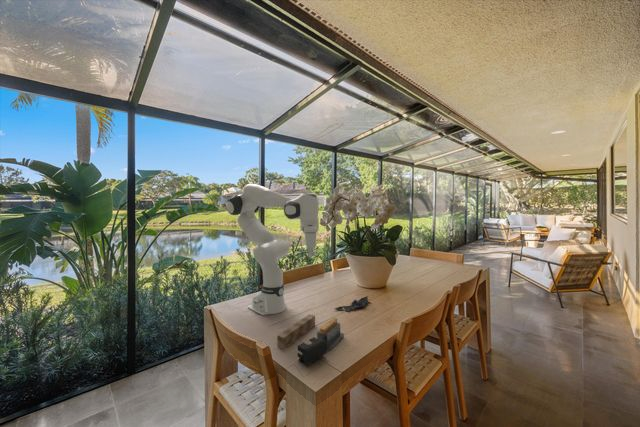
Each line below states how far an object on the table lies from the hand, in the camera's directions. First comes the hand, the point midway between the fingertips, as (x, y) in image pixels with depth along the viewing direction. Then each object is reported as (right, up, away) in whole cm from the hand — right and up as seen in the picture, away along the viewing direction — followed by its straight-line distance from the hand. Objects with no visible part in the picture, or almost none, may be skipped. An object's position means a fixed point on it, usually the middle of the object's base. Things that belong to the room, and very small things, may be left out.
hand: (309, 255), depth 125 cm
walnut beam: (-5, -36, -5) cm, 37 cm away
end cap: (+2, -37, -24) cm, 44 cm away
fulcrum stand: (+9, -36, -11) cm, 39 cm away
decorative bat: (+27, -35, +27) cm, 51 cm away
